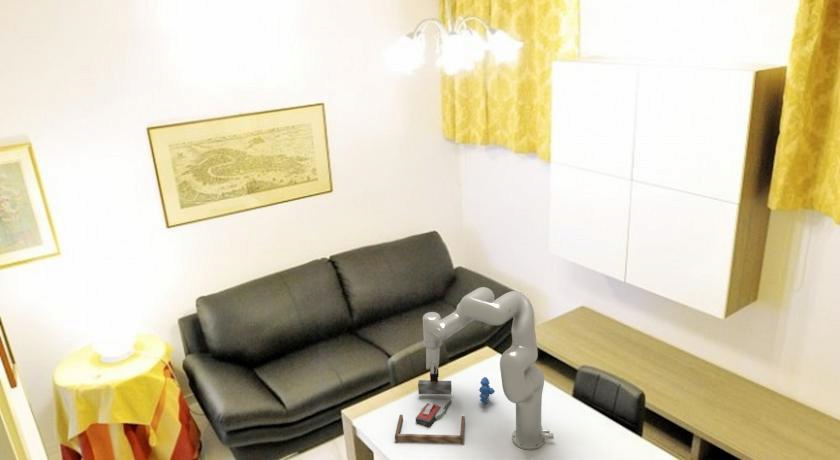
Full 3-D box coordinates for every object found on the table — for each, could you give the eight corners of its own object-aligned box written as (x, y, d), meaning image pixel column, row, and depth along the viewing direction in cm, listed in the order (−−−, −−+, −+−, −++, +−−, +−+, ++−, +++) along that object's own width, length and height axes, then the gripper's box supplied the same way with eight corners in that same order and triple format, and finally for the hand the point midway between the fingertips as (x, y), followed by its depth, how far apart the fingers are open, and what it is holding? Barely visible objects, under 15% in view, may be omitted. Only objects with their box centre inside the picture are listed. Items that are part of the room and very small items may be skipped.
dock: (464, 422, 247) (464, 416, 246) (463, 444, 235) (463, 438, 234) (400, 420, 251) (399, 414, 250) (395, 442, 238) (394, 436, 237)
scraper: (451, 390, 264) (450, 364, 260) (451, 394, 262) (450, 368, 257) (419, 389, 266) (417, 364, 262) (418, 394, 263) (417, 367, 259)
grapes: (493, 411, 253) (493, 387, 249) (477, 410, 254) (476, 385, 250) (496, 395, 263) (496, 371, 259) (481, 394, 265) (480, 370, 261)
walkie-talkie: (433, 431, 244) (453, 403, 260) (432, 421, 242) (452, 394, 259) (413, 426, 248) (434, 398, 264) (412, 416, 246) (434, 390, 263)
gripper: (425, 331, 263) (427, 368, 270) (421, 351, 248) (423, 390, 254) (443, 331, 262) (444, 368, 269) (440, 351, 247) (441, 390, 254)
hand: (434, 378), depth 262 cm, fingers closed on scraper, 2 cm apart
